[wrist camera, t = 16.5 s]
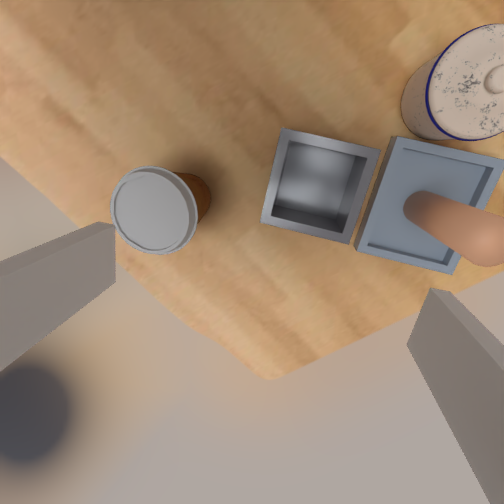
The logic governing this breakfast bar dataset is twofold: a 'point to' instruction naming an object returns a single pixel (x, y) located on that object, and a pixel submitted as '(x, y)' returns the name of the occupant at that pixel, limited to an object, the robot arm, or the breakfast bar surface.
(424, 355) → the robot arm
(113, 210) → the disposable coffee cup
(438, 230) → the dowel
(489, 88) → the teacup with lid
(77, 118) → the breakfast bar surface
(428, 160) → the tray
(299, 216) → the open square box
